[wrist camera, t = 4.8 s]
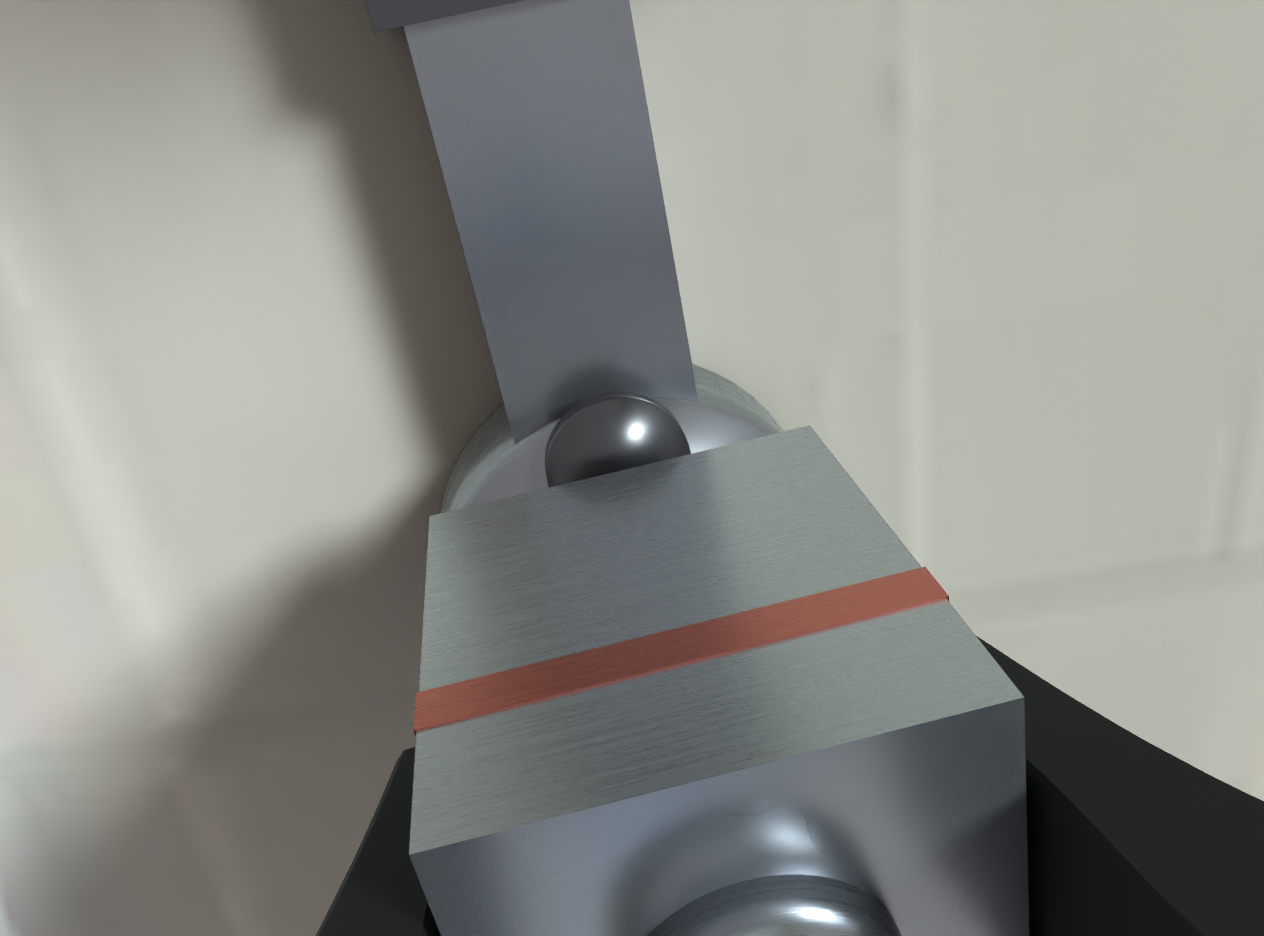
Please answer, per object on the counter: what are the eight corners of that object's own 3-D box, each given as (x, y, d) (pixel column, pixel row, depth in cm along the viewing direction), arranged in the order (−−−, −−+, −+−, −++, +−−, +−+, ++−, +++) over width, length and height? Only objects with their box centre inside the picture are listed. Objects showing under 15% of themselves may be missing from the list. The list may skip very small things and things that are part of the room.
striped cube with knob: (847, 723, 14) (1079, 1170, 9) (520, 806, 14) (557, 1317, 9) (810, 423, 12) (1084, 768, 7) (427, 515, 12) (397, 947, 7)
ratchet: (821, 634, 17) (933, 836, 13) (491, 717, 17) (502, 949, 13) (664, -602, 10) (796, -982, 6) (100, -499, 10) (-145, -825, 6)
